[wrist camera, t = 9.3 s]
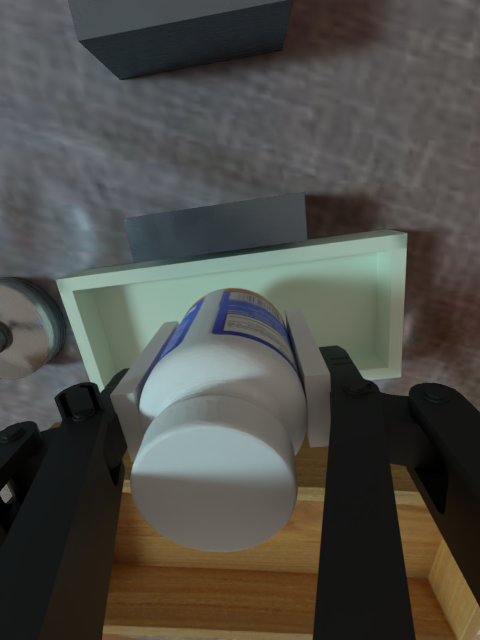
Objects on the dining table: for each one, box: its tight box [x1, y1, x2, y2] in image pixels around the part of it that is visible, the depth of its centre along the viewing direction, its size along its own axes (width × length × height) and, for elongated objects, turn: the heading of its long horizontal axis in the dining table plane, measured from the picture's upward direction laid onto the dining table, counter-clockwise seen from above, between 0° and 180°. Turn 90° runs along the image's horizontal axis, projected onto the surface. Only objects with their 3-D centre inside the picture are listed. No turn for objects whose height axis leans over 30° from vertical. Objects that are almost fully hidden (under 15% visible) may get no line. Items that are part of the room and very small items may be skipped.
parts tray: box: [56, 229, 407, 393], centre depth 18 cm, size 8×18×2 cm, turn 98°
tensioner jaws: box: [68, 0, 307, 263], centre depth 14 cm, size 10×8×4 cm
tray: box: [48, 423, 480, 640], centre depth 23 cm, size 31×15×6 cm, turn 88°
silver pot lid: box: [0, 277, 66, 380], centre depth 19 cm, size 6×6×3 cm
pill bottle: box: [130, 288, 308, 552], centre depth 12 cm, size 5×5×10 cm
